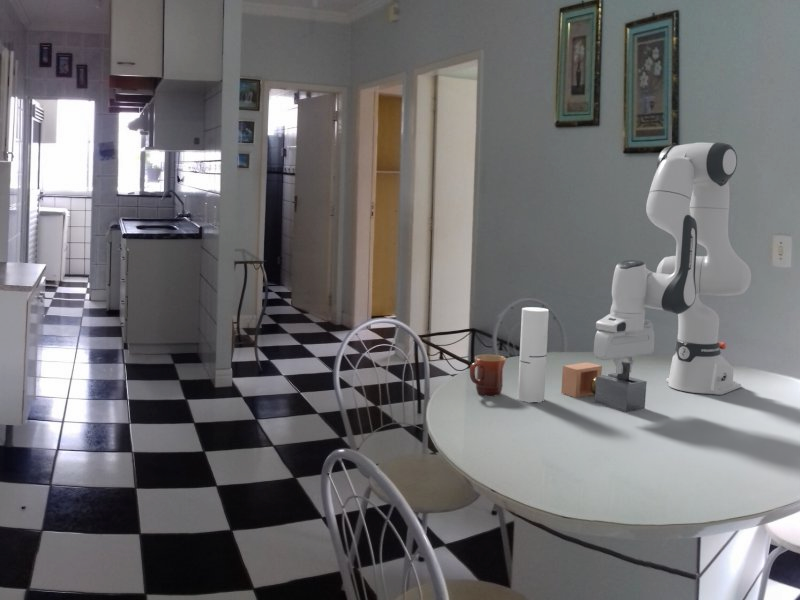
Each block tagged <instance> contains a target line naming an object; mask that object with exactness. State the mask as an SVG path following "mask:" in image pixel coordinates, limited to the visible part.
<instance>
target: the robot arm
mask: <svg viewBox="0 0 800 600" xmlns="http://www.w3.org/2000/svg"><path fill="white" fill-rule="evenodd" d="M737 165H738V155H737V152H736V150H735V149H734V148H733V145H731V144H729V143H724V142H719V141H718V142H701V141H700V142H694V143H693V142H692V143H685V144H684V143H683V144H680V145H679V144H674V145H669V146H666V147H664V148H663V149H662V150H661V151H660V153H659V154H658V156H657V159H656V171H655V174H654V175H653V179H652V182H651V184H650V189H649V192H648V197H647V200H646V205H645V208H646V209H645V211H646V216H647V217H648V219H649V221H650V222H651V223H652V224H653V225H654V226H655V227H657V228H658V229H661V230H663V231H664V232H666V233H668V234H670V235H671V236H672V237H673V238H674V239H675V243H676V244H675V245H676V249H675V250H676V251H675V255H671V256H665V257H663V258H662V260H661V261H660V262H659V263H658V265H657V268H656V272H654V271H651V270H650V269H648V268H647V265H646V263H645V262H644V261H642V260H638V259H630V260H623V261H620V262H618V263H617V264H616V266H615V269H614V271H613V277H612V282H611V283H612V284H611V285H612V286H611V297H612V304H611V306H610V311H609V314H607V315H605V316H603V318H601V319H599V320H597V321H596V322H595V329H596V330H597V331H596V333H595V336H594V342H593V345H594V346H593V354H594V355H593V356H594V357H595V358H596V359H599V360H601V361H609V360H612V361H613V362H614V365H615V373H618V374H623V373H625V371H624V370H625V367H623V366H622V362H624V358H625V359H626V361H625V362H627V363H630V373H632V367H633V365H634V363H635V361H636V357H638V356H644V355H652V354H653V353H654V351H655V331H654V324H653V322H652V321H651V320H650V319H645V316H646V308H648V309H652V310H653V309H654V310H661V311H664V312H668V313H672V314H677V320H678V321H677V322H678V325H677V328H678V329H677V338H676V340H675V343H674V346H675V347H674V351H675V354H673V356H672V359H671V364H670V369H669V370H670V372H669V376H668V377H666V380H665V381H666V382H667V385H668V386H669V388H672V389H675V390H678V391H682V392H685V393H686V392H687V393H693V394H695V393H696V394H709V395H720V396H721V395H725V394H727V393H729V392H732V391H736V390H737V389H741V388H742V383H740V382H738V381H735V380H734V367H733V366H732V365H731V364H730V363H729V362H728V360H726V358H724V357H723V356H722V355H721V353H722V352H721V350H723V351H725V350H726V348H727V344H726V342H722V341H718V340H719V339H718V338H719V331H720V330H719V329H720V317H719V315H718V313H717V312H716V311H715V310H714V309H712V308H711V307H709V306H707V305H705V304H704V303H702V302H701V300H700V297H699V295H709V296H720V297H721V296H722V297H727V296H728V297H729V296H738V295H742V294H744V293H745V292H746V291H747V290H748V289H749V286H750V285H751V280H752V273H751V269H750V267H749V265H748V264H747V263H746V262H745V261H744V260H743V259H742V258H741V257H740V256H739V255H738V254H737V253H736V252H735V250H734V249H733V247H732V244H731V242H730V237H729V214H730V213H729V211H730V210H729V209H730V198H731V197H730V184H729V180H730V179H731V178H732V177H733V175H734V174H735V172H736V170H737ZM698 245H700V246H702V247H703V248H705V250H706V255H704V256H702V255H701V256H699V255H697V248H698V247H697V246H698Z"/></svg>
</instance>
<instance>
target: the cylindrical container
mask: <svg viewBox="0 0 800 600" xmlns="http://www.w3.org/2000/svg"><path fill="white" fill-rule="evenodd" d="M549 313H550V310H549V309H548V308H545V307H544V308H543V307H536V306H535V307H534V306H530V307H527V306H525V307H522V308H521V324H520V341H519V342H520V344H519V345H520V346H519V361H518V363H519V365H518V367H519V368H518V386H517V399H519V400H518V401H520V400H521V402H523V401H525V403H530V402H538V403H542V401H543V402H544V401H545V391H546V389H545V387H546V370H547V369H546V368H547V353H548V352H547V350H548V348H547V347H548V332H549V331H548V330H549V329H548V328H549V315H550V314H549Z"/></svg>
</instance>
